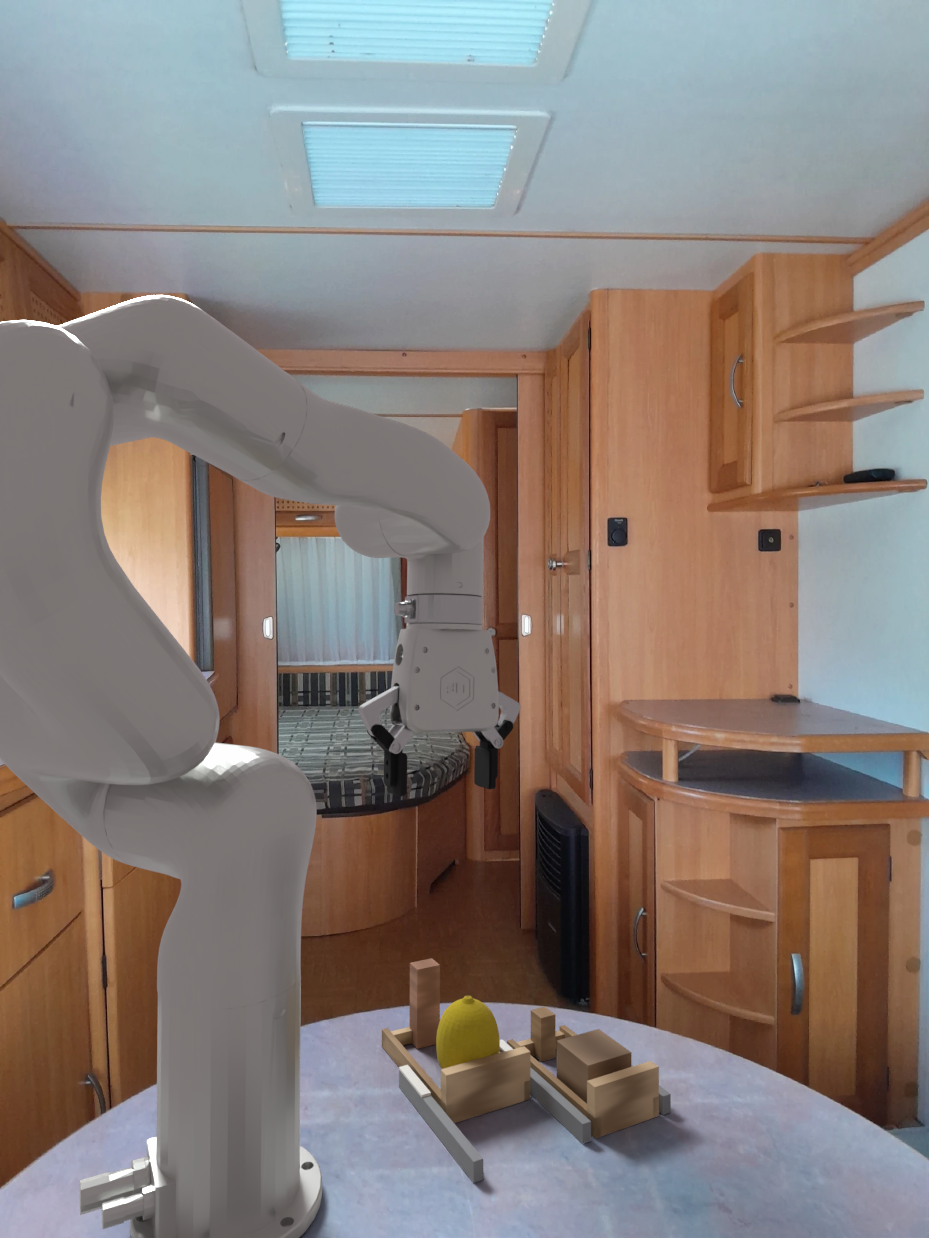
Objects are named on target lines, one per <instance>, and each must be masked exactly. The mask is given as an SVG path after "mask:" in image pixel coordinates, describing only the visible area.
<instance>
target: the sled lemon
mask: <svg viewBox="0 0 929 1238" xmlns="http://www.w3.org/2000/svg"><path fill="white" fill-rule="evenodd" d="M440 1019H441V964H440V963H438V962H437V961H436V960H434V959H433V958H427V959H421V960H418V961H413V962H409V1026H408V1027H403V1028H400V1029H399V1028H398V1029H395V1030H390V1029H389V1028H388V1027H387V1028H382V1029H381V1048H382V1049H384V1051H385V1052H386V1053H387V1055H388V1056H389V1057H390V1058H391V1060H392V1061H393V1062H394V1063H395V1064H396V1066H397V1067H398V1068H399V1067H401V1066H405V1065H408V1066H409V1067H410V1068H411V1069H412V1071H413V1072H414V1073H415V1074H416V1075H417V1077H418V1078H419V1079H420V1080H421V1081H422V1083H423V1084H424V1085H425V1086H426V1087H427V1088H428V1090H429V1091H430V1092H431V1096H432V1097H433V1098H434V1100H435V1101H436V1102H437V1103H438V1105H439V1106H440V1107H441V1108H442V1109H443V1111H444V1112H445V1113H446V1114H447V1115H448V1117H449V1118H450V1119H451V1120H452V1121H453V1123H454V1124H456V1123H459V1122H463V1121H466V1120H469V1119H473V1118H475V1117H479V1116H481V1115H482V1116H483V1115H485V1114H488V1113H492V1112H494V1111H497V1110H501V1109H503V1108H508V1107H510V1106H514V1105H516V1104H519V1103H523V1102H525V1101H528V1100H531V1094H530V1051H529V1050H528V1049H527V1048H526V1047H525V1046H523V1047H520V1048H516V1049H512V1050H509V1051H505V1052H502V1053H501V1052H499V1053H498V1054H494V1055H491V1056H487V1057H484V1058H480V1059H477V1060H473V1061H469V1062H466V1063H462V1064H459V1065H455V1066H451V1067H448V1068H444V1069H441V1068H440V1087H439V1086H438V1085H437V1083H435V1081H434V1080H433V1079H432V1078H431V1077H430V1075H429V1074H428V1073H427V1072H426V1070H425V1069H424V1068H423V1067H422V1066H421V1065H420V1064H419V1063H418V1061H417V1060H416V1059H415V1058H414V1056H413V1055H412V1054H411V1053H410V1052H409V1051H408V1050H407V1049H406V1047H404V1046H407V1045H410V1044H412V1045H413V1046H414V1047H415V1048H416V1049H417V1050H418V1049H424V1048H427V1047H430V1046H434V1045H435V1046H436V1037H437V1030H438V1025H439V1022H440Z"/></svg>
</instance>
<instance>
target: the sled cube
mask: <svg viewBox="0 0 929 1238" xmlns="http://www.w3.org/2000/svg"><path fill="white" fill-rule="evenodd" d="M575 1035H578V1033H576V1032H575V1031H573V1030H572V1029H571V1028H569V1027H568V1026H567V1025H565V1024H563V1025H559V1029H558V1030H557V1031H556V1013H555V1012H553V1011H552V1010H550V1009H549V1008H547V1007H546V1006H541V1007H537V1008H533V1009H530V1038H528V1039H524V1040H520V1041H516V1040H514V1039H513V1038H511V1039H508V1040H506V1043H507V1044H508V1045H509V1046H510V1047H511V1048H512V1049H516V1048H520V1047H523V1046H525V1047H526V1048H527V1049H528V1050H529V1051H530V1067H531V1068H532V1069H533V1070H534V1071H535V1072H537V1073H538V1074H539V1075H540V1076H541V1077H542V1078H543V1079H544V1080H545V1081H547V1082H548V1083H549V1084H550V1085H551V1086H552V1087H553V1088H554V1089H555V1090H557V1091H558V1092H559V1093H560V1094H561V1095H562V1096H563V1097H564V1098H566V1099H567V1100H568V1101H569V1102H570V1103H571V1104H572V1105H573V1106H574V1107H576V1108H577V1109H578V1110H579V1111H580V1112H581V1113H582V1114H583V1115H584V1116H586V1117H587V1118H588V1119H589V1120H590V1121H591V1138H592V1139H595V1140H596V1139H599V1138H602V1137H604V1136H607V1135H610V1134H613V1133H616V1132H618V1131H620V1130H624V1129H627V1128H630V1127H632V1126H635V1125H637V1124H640V1123H643V1122H646V1121H649V1120H652V1119H655V1118H656V1117H657V1118H658V1117H659V1116H660V1112H659V1086H660V1080H659V1079H660V1078H659V1077H660V1066H659V1065H657V1064H656V1063H654V1062H653V1061H652V1060H649V1061H645V1062H642V1063H638V1064H636V1065H632V1066H633V1067H629V1068H626V1069H623V1070H620V1071H617V1072H614V1073H610V1074H607V1075H604V1076H601V1077H598V1078H595V1079H591V1080H588V1081H587V1104H586V1103H585V1102H584V1101H583V1100H582V1099H581V1098H580V1097H578V1096H577V1095H576V1094H575V1093H574V1092H573V1091H572V1090H570V1089H569V1088H568V1087H567V1086H566V1085H565V1084H563V1083H562V1082H561V1081H560V1080H559V1079H558V1078H557V1076H555V1075H554V1073H552V1072H551V1071H550V1070H548V1069H547V1068H546V1067H545V1066H544V1065H543V1064H541V1063H542V1062H545V1061H548V1060H552V1059H555V1058H556V1059H557V1040H561V1039H564V1038H568V1037H572V1036H575ZM540 1062H541V1063H540Z"/></svg>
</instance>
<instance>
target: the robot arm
mask: <svg viewBox="0 0 929 1238" xmlns="http://www.w3.org/2000/svg"><path fill="white" fill-rule="evenodd" d="M150 438H156V439H160V440H165V441H166V442H168V443H171V444H173V445H174V446H177V447H178V448H180V449H182V450H184V451H185V452H188V453H190V454H192V455H193V456H195V457H197V458H198V459H201V460H203V461H204V462H206V463H208V464H210V465H212V466H214V467H216V468H218V469H220V470H222V471H223V472H225V473H226V474H229V475H231V476H232V477H234V478H236V479H237V480H238V481H239V482H243V483H244V484H246V485H248V486H249V487H251V488H253V489H255V490H256V491H259V492H260V493H262V494H264V495H267V496H269V497H272V498H275V499H276V498H278V499H283V500H287V501H292V502H299V503H306V504H312V505H324V506H327V505H328V506H335V508H334V524H335V528H336V531H337V532H338V535H339V537H340V538H341V539H342V541H343V542H344V543H345V544H346V546H348V547H349V548H350V549H351V550H353V551H354V552H356V553H357V554H359V555H361V556H364V557H369V558H373V559H385V558H387V559H388V558H404V559H406V563H407V567H406V570H407V572H406V576H407V577H406V596H404V600H403V601H396V602H395V603H394V606H393V613H394V615H395V616H396V617H397V616H401V617H402V618H404V624H406V627H405V628H400V632H399V635H398V639H397V643H396V648H395V654H394V657H393V658H394V659H393V666H392V674H391V685H390V688H389V689H387V690H384V692H382V693H379V694H377V695H376V696H375V697H373V698H371V699H369V700H367V701H366V702H364V703H362V704H361V705H359V706H358V710H357V712H358V714H359V716H360V719H361V721H362V723H363V725H364V727H365V728H366V732H367V734H368V735H369V737H371V739H372V740H373V741H374V742H375V743H376V744H377V745H378V746H379V749H380V750H382V751H383V784H384V786H385V787H386V791H387V793H389V794H391V795H394V796H395V797H401V798H402V797H405V796H406V795H408V755H407V753H405V752H403V751H404V750H403V749H404V748H405V746H407V743H408V742H409V741H410V740H411V738H412V737H413V736H414V734H415V733H418V734H419V733H420V734H444V733H445V734H446V733H470V732H471V733H472V734H473V735H474V736H475V738H476V739H477V740H478V742H479V745H475V748H474V766H473V769H474V771H473V772H474V776H473V780H474V782H473V783H474V785H476V786H477V787H481V788H483V789H487V790H494V789H496V786H497V785H496V783H497V782H496V780H497V778H498V773H499V771H498V770H499V768H498V765H499V749H501V748H502V747H503V745H504V741H505V739H506V738H507V737H508V736H509V735H510V733H511V732H512V731H513V730H514V723H515V722H516V720H517V717H518V716H519V713H520V712H521V711H520V710H521V709H522V707H521V704H520V703H519V701H516V700H515V699H513V698H511V697H509V696H508V695H506V694H504V693H503V692H501V691H499V684H498V682H499V681H498V670H497V669H498V668H497V661H496V656H495V647H494V645H493V644H494V642H493V639H492V634H491V631H490V630H485V629H484V630H483V611H484V610H483V609H484V608H483V606H484V605H483V601H484V599H483V597H484V539H485V538H484V536H485V535H486V533H487V531H488V528H489V526H490V522H491V503H490V502H491V501H490V499H489V494H488V492H487V489H486V487H485V485H484V483H483V482H482V480H481V478H480V477H479V475H478V474H477V472H476V471H475V470H474V469H473V468H472V467H471V466H470V464H468V463H467V462H466V461H465V460H464V459H463V458H462V457H461V456H459V455H458V454H457V453H456V452H455V451H454V450H452V448H450V447H449V446H448V445H446V443H444V442H442V441H441V440H439V439H438V438H437V437H435V436H433V435H431V434H430V433H428V432H425V431H423V430H421V429H419V428H416V427H414V426H412V425H408V424H406V423H403V422H400V421H397V420H394V419H391V418H387V417H384V416H380V415H378V414H375V413H372V412H369V411H365V410H363V409H360V408H356V407H353V406H350V405H348V404H347V405H346V404H343V403H339V402H334V401H331V400H327V399H326V398H325V399H324V398H323V397H321V396H319V395H318V394H316V393H315V392H313V391H312V390H310V389H309V388H308V387H307V386H306V385H304V384H303V383H302V382H300V381H299V380H298V379H296V378H295V377H293V376H292V375H291V374H290V373H289V372H287V371H285V370H284V369H283V368H281V367H280V366H279V365H278V364H276V363H275V362H274V361H272V360H270V359H269V358H268V357H266V355H264V354H263V353H261V352H260V351H259V350H257V349H256V348H255V347H253V345H250V344H249V343H248V342H247V341H246V340H244V339H243V338H242V337H240V336H239V335H237V334H236V333H235V332H233V331H232V330H230V328H228V327H226V326H225V325H224V324H222V323H221V322H220V321H218V320H217V319H216V318H214V317H213V316H211V315H210V314H209V313H207V311H204V310H203V309H201V308H200V307H199V306H197V305H195V304H193V303H191V302H189V301H187V300H185V299H183V298H180V297H175V296H171V295H164V294H156V295H155V294H153V295H152V294H151V295H146V296H145V295H144V296H141V297H136V298H133V299H130V300H127V301H123V302H121V303H118V304H116V305H112V306H110V307H106V308H105V309H101V310H98V311H96V312H93V313H89V314H86V315H85V316H81V317H78V318H76V319H73V320H70V321H68V322H64V323H63V324H59V325H54V324H50V323H48V322H43V321H36V320H27V319H19V320H17V319H15V320H7V321H0V760H1V761H2V762H3V764H5V766H6V767H7V768H8V769H9V770H10V771H11V772H12V773H13V774H14V775H15V776H16V777H17V778H18V779H19V780H20V781H21V782H22V783H23V784H24V785H26V786H27V787H28V788H29V789H30V790H31V791H32V792H33V793H34V794H36V796H38V797H39V799H41V800H42V801H43V802H44V803H45V804H46V805H48V806H49V807H50V809H52V810H53V811H54V812H55V813H56V814H57V815H58V816H59V817H60V818H61V819H62V820H64V822H66V823H67V824H68V825H69V826H70V827H72V828H73V830H75V831H76V832H77V833H78V834H79V835H80V836H81V837H83V838H84V839H85V840H86V841H87V842H88V843H90V844H91V846H93V847H94V848H96V849H97V850H98V851H100V852H102V853H103V854H104V855H105V856H107V857H109V858H111V859H113V860H115V861H116V862H120V863H122V864H124V865H129V866H131V867H135V868H137V869H143V870H147V871H150V872H154V873H159V874H162V875H163V874H164V875H167V876H170V877H172V878H175V879H179V880H180V883H181V884H180V889H179V890H180V891H179V895H178V898H177V901H176V902H175V905H174V907H173V909H172V912H171V913H170V916H169V917H168V920H167V922H166V924H165V927H164V929H163V933H162V936H161V937H160V943H159V947H158V955H157V967H156V968H157V969H156V992H157V1025H156V1026H157V1028H156V1031H157V1032H156V1034H157V1035H156V1036H157V1037H156V1038H157V1039H156V1040H157V1041H156V1042H157V1043H156V1044H157V1046H156V1047H157V1048H156V1049H157V1050H156V1056H157V1057H156V1136H154V1137H150V1138H148V1139H146V1156H143V1157H141V1158H140V1157H139V1158H137V1159H134V1160H131V1166H129V1167H126V1168H123V1169H119V1170H116V1171H113V1172H109V1171H107V1172H103V1173H100V1174H97V1175H93V1176H90V1177H85V1178H83V1179H80V1180H79V1214H80V1216H82V1215H85V1214H89V1213H92V1212H95V1211H99V1210H101V1224H102V1225H101V1227H102V1230H105V1229H109V1228H112V1227H115V1226H118V1225H121V1224H125V1222H127V1221H129V1234H130V1238H300V1237H301V1236H303V1235H304V1234H305V1233H306V1231H307V1230H308V1229H309V1228H310V1225H311V1224H312V1223H313V1221H315V1219H316V1216H317V1214H318V1211H319V1210H320V1208H321V1203H322V1196H323V1175H322V1171H321V1167H320V1165H319V1162H317V1159H316V1158H315V1156H314V1155H313V1154H311V1152H309V1150H308V1149H306V1148H305V1147H304V1146H301V1025H302V1024H301V1023H302V1022H301V1019H302V1018H301V1017H302V1015H301V1012H302V1011H301V1010H302V1009H301V1007H302V1006H301V1005H302V1004H301V1002H302V1001H301V999H302V998H301V997H302V996H301V995H302V994H301V993H302V992H301V991H302V989H301V986H302V983H301V982H302V981H301V980H302V975H301V974H302V973H301V972H302V971H301V967H302V966H301V961H302V959H301V957H302V956H301V955H302V954H301V952H302V950H301V949H302V947H301V946H302V918H303V917H302V916H303V903H304V895H305V888H306V887H305V885H306V878H307V876H308V875H307V874H308V868H309V864H310V859H311V852H312V850H313V849H312V848H313V845H314V844H313V843H314V841H315V840H314V839H315V834H316V833H315V832H316V829H317V828H316V826H317V815H318V814H317V801H316V795H315V793H314V789H313V786H312V784H311V782H310V780H309V779H308V778H307V776H306V774H305V773H304V771H302V769H301V768H300V767H299V766H297V765H296V764H295V763H294V762H293V761H291V760H289V759H288V758H287V757H286V756H285V757H284V756H283V755H282V754H281V755H280V754H279V753H276V752H273V751H271V750H268V749H265V748H264V749H263V748H260V747H256V746H251V745H249V746H248V745H241V744H231V743H222V742H217V738H218V735H219V729H220V719H221V718H220V710H219V706H218V701H217V699H216V696H215V693H214V691H213V689H212V688H211V685H210V683H209V682H208V680H207V678H206V676H205V675H204V673H203V672H202V671H201V669H200V668H199V667H198V665H197V664H196V663H195V661H193V659H192V658H191V656H190V655H189V654H188V653H187V652H186V650H185V649H184V648H183V646H182V645H181V643H179V641H178V640H177V639H176V637H174V635H173V634H172V633H171V631H170V630H169V629H168V628H167V626H166V625H165V624H164V622H163V621H162V620H161V618H160V617H159V615H158V614H157V613H156V612H155V611H154V610H153V608H152V607H151V605H149V604H148V602H147V601H146V600H145V598H144V597H143V596H142V594H140V592H139V590H137V588H136V587H135V586H134V584H133V583H132V582H131V580H130V578H129V577H128V575H127V573H125V571H124V569H123V568H122V566H121V565H120V563H119V562H118V561H117V559H116V557H115V555H114V553H113V551H112V549H111V548H110V546H109V543H108V540H107V536H106V533H105V529H104V525H103V519H102V490H103V480H104V475H105V469H106V465H107V461H108V457H109V453H110V452H109V451H110V448H111V447H113V446H117V445H121V444H126V443H131V442H135V441H141V440H144V439H150ZM388 708H389V716H390V717H389V718H390V722H391V724H392V725H391V726H390V727H389V729H388V730H387V728H386V727H385V725H382V724H383V723H382V722H381V718H380V714H381V713H382V711H384V710H386V709H388ZM499 710H500V712H499ZM499 713H500V714H499Z"/></svg>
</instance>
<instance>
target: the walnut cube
mask: <svg viewBox="0 0 929 1238" xmlns="http://www.w3.org/2000/svg"><path fill="white" fill-rule="evenodd" d="M631 1065H632V1051H631V1050H629V1049H627V1047H625V1046H624V1045H622V1044H621V1043H619V1042H617V1041H616V1039H613V1038H612V1037H611V1036H610V1035H608V1034H606V1033H605V1032H604V1031H603V1030H601V1029H599V1028H597V1029H593V1030H590V1031H586V1032H583V1033H580V1034H577V1035H575V1036H572V1037H568V1038H564V1039H561V1040H557V1049H556V1077H557V1078H558V1079H559V1080H560V1081H561V1082H562V1083H563V1084H565V1085H566V1086H567V1087H568V1088H569V1089H570V1090H572V1091H573V1092H574V1093H575V1094H576V1095H577V1096H578V1097H580V1098H581V1099H582V1100H583V1101H584V1102H585V1103H586V1104H587V1081H588V1080H591V1079H595V1078H598V1077H601V1076H604V1075H607V1074H610V1073H614V1072H617V1071H620V1070H623V1069H626V1068H629V1067H631Z"/></svg>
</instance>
